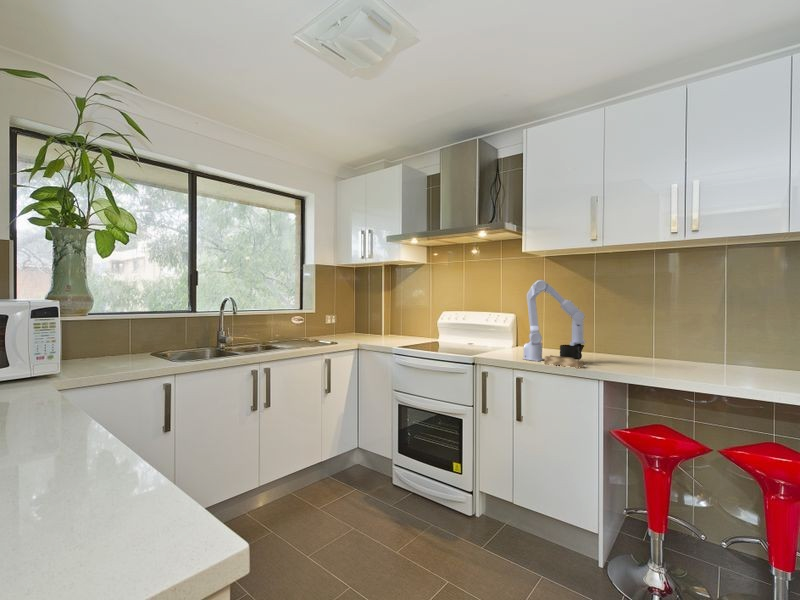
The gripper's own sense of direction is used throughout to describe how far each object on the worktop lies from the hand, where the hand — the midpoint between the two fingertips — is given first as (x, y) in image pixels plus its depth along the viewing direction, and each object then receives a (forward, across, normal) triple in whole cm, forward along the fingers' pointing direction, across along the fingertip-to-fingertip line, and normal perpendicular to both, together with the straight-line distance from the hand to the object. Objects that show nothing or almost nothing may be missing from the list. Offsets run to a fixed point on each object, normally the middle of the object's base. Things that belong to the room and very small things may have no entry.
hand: (577, 358), depth 215 cm
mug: (+2, -7, 0) cm, 8 cm away
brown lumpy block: (+2, -17, 0) cm, 17 cm away
